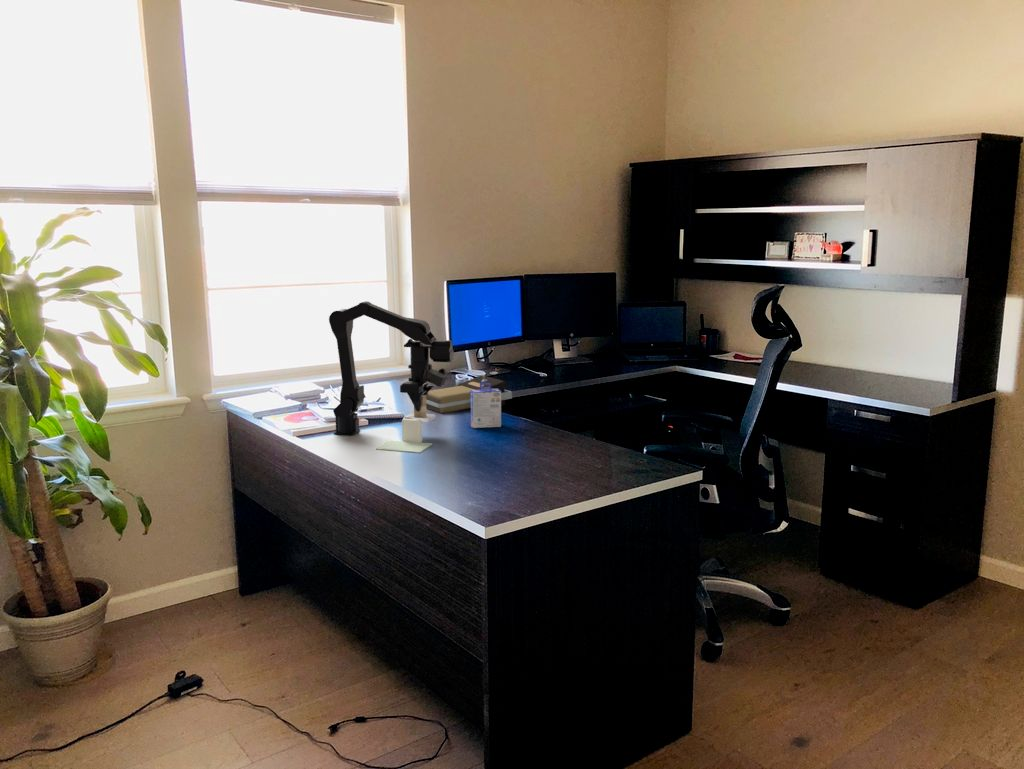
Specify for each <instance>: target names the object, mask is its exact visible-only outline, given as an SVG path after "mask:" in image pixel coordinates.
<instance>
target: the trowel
mask: <svg viewBox="0 0 1024 769" xmlns="http://www.w3.org/2000/svg"><path fill="white" fill-rule="evenodd" d="M404 419H416V420H422V422H424V423H425V422H427V423H428V422H429V423H430V422H431V421H432V420H434V419H436V414H433V413H427V408H426V395H422V401H421V408H420V411H416V409H415V407H414V406H413V412H411V413H409V414H408V415H405V416H404Z"/></svg>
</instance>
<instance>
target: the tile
mask: <svg viewBox="0 0 1024 769" xmlns="http://www.w3.org/2000/svg"><path fill="white" fill-rule="evenodd" d="M401 436H402V437H401V441H406V442H418V443H423V421H422V420H416V419H405V418H403V419H401Z"/></svg>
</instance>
